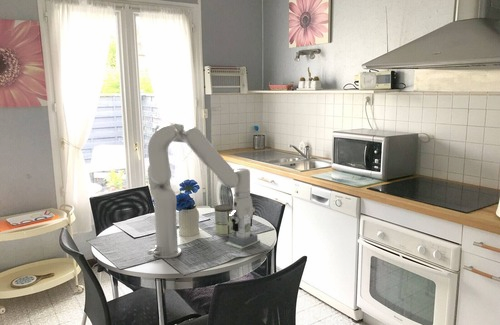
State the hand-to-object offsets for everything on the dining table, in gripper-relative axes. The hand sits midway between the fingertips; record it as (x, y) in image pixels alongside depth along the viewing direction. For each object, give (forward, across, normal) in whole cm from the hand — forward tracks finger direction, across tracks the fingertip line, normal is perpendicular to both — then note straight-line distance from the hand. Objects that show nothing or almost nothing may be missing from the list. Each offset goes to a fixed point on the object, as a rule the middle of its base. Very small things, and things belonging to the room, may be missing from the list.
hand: (242, 228), depth 202 cm
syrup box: (+7, 0, 0) cm, 7 cm away
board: (+7, 0, 0) cm, 7 cm away
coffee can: (+8, +4, +17) cm, 19 cm away
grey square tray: (+7, 0, 0) cm, 7 cm away
